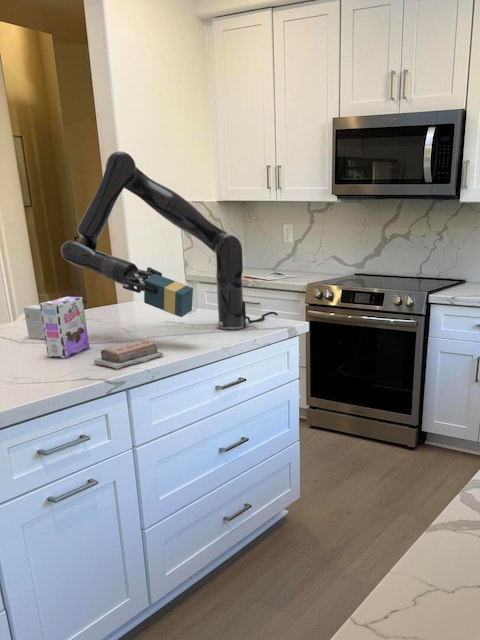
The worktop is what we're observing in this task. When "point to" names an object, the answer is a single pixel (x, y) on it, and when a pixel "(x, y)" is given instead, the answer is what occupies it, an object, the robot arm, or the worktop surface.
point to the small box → (34, 321)
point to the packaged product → (128, 354)
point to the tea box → (169, 295)
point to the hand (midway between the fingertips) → (162, 287)
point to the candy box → (64, 326)
